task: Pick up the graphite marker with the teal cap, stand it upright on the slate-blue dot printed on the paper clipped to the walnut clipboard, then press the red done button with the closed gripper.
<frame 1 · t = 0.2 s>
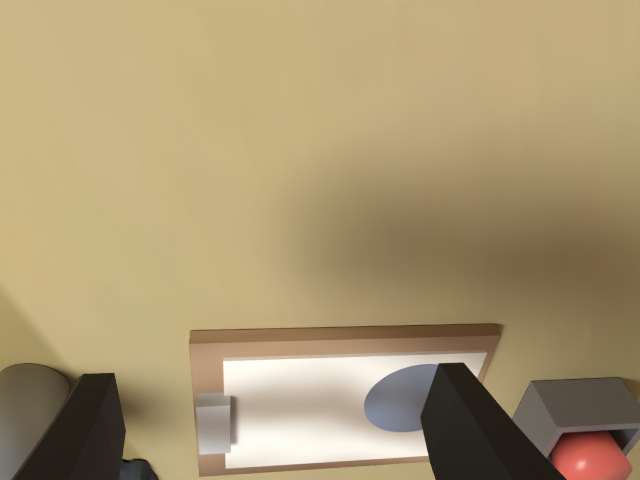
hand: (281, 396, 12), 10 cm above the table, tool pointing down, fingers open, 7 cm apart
done button: (588, 461, 29), point 3 cm above the table, slide at 0.0 cm
clipboard: (336, 398, 28), on the table
button box: (558, 409, 31), on the table
marker: (33, 385, 25), on the table
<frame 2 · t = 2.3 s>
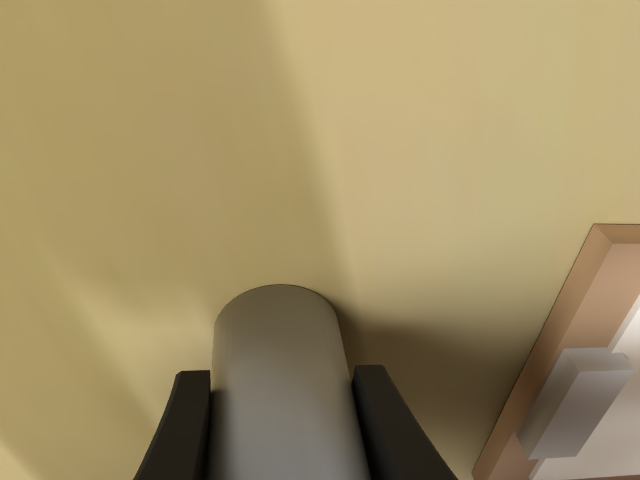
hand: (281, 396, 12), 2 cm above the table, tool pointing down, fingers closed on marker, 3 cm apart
marker: (276, 331, 13), on the table, touching gripper
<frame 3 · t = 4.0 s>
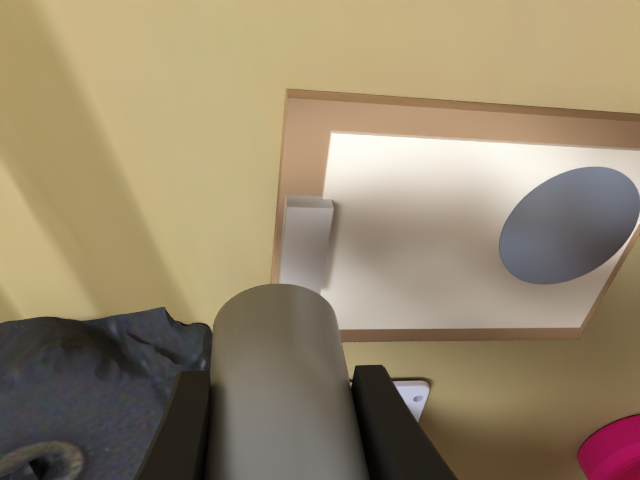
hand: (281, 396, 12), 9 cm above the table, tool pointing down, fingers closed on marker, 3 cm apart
clipboard: (457, 233, 21), on the table
pepper mill: (622, 439, 33), on the table
marker: (275, 330, 13), point 7 cm above the table, touching gripper
dark slate chunk: (108, 450, 28), on the table
when the fingers open (5 cm above the table, at t = 5.9 s): marker drops 1 cm, resting on clipboard.
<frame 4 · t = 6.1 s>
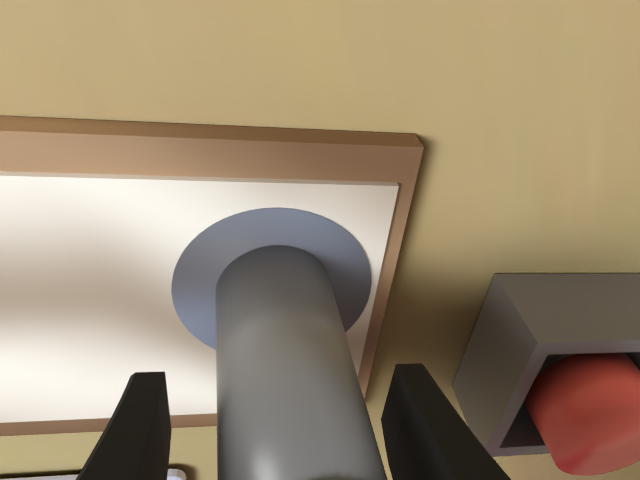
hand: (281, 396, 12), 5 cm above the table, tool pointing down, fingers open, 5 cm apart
done button: (595, 412, 16), point 3 cm above the table, slide at 0.0 cm
clipboard: (136, 294, 15), on the table
button box: (543, 333, 19), on the table
marker: (273, 291, 14), point 1 cm above the table, touching clipboard
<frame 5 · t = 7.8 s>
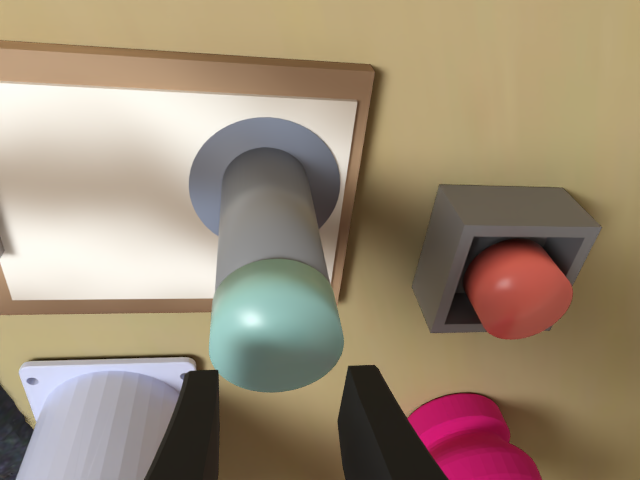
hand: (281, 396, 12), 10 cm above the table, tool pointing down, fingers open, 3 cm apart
done button: (515, 289, 21), point 3 cm above the table, slide at 0.0 cm
clipboard: (160, 195, 20), on the table
button box: (483, 240, 23), on the table
pepper mill: (448, 421, 32), on the table
marker: (265, 186, 19), point 1 cm above the table, touching clipboard
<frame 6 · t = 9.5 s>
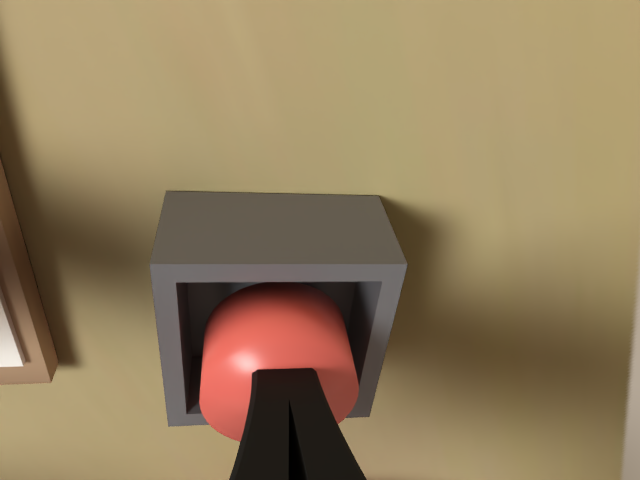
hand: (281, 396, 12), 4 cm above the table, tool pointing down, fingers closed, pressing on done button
done button: (278, 364, 12), point 3 cm above the table, slide at 0.0 cm, touching gripper
button box: (271, 275, 15), on the table
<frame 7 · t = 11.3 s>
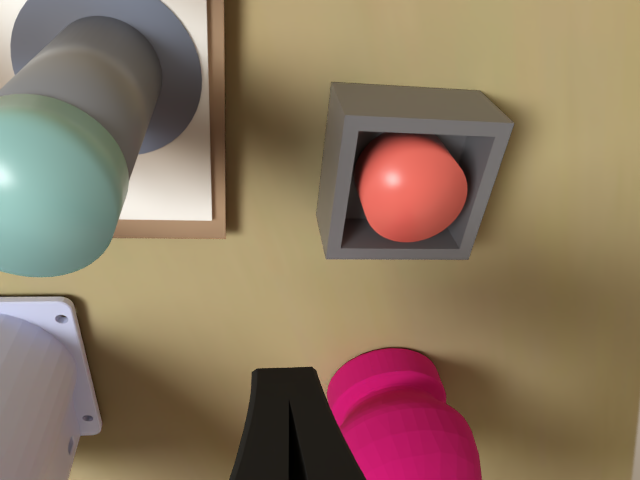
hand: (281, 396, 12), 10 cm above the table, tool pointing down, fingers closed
done button: (408, 185, 18), point 2 cm above the table, slide at 1.1 cm
button box: (393, 156, 20), on the table
pepper mill: (381, 382, 29), on the table
marker: (108, 70, 16), point 1 cm above the table, touching clipboard
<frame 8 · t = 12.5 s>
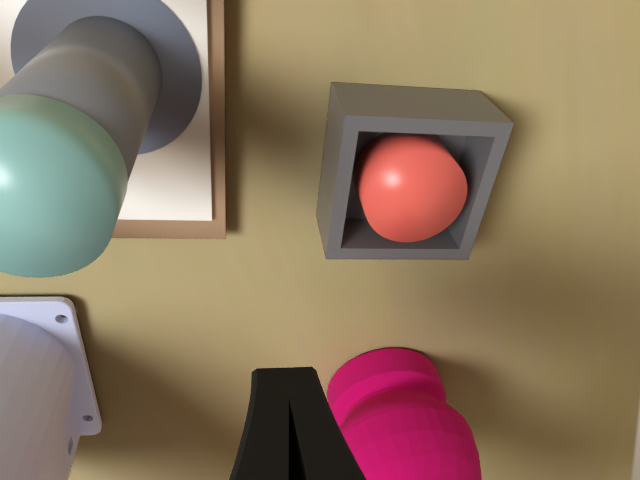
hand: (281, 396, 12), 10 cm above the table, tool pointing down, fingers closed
done button: (408, 185, 18), point 2 cm above the table, slide at 1.1 cm
button box: (393, 156, 20), on the table
pepper mill: (381, 382, 29), on the table
marker: (108, 70, 16), point 1 cm above the table, touching clipboard
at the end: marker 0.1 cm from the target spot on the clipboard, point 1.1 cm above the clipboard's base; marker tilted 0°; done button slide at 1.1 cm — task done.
